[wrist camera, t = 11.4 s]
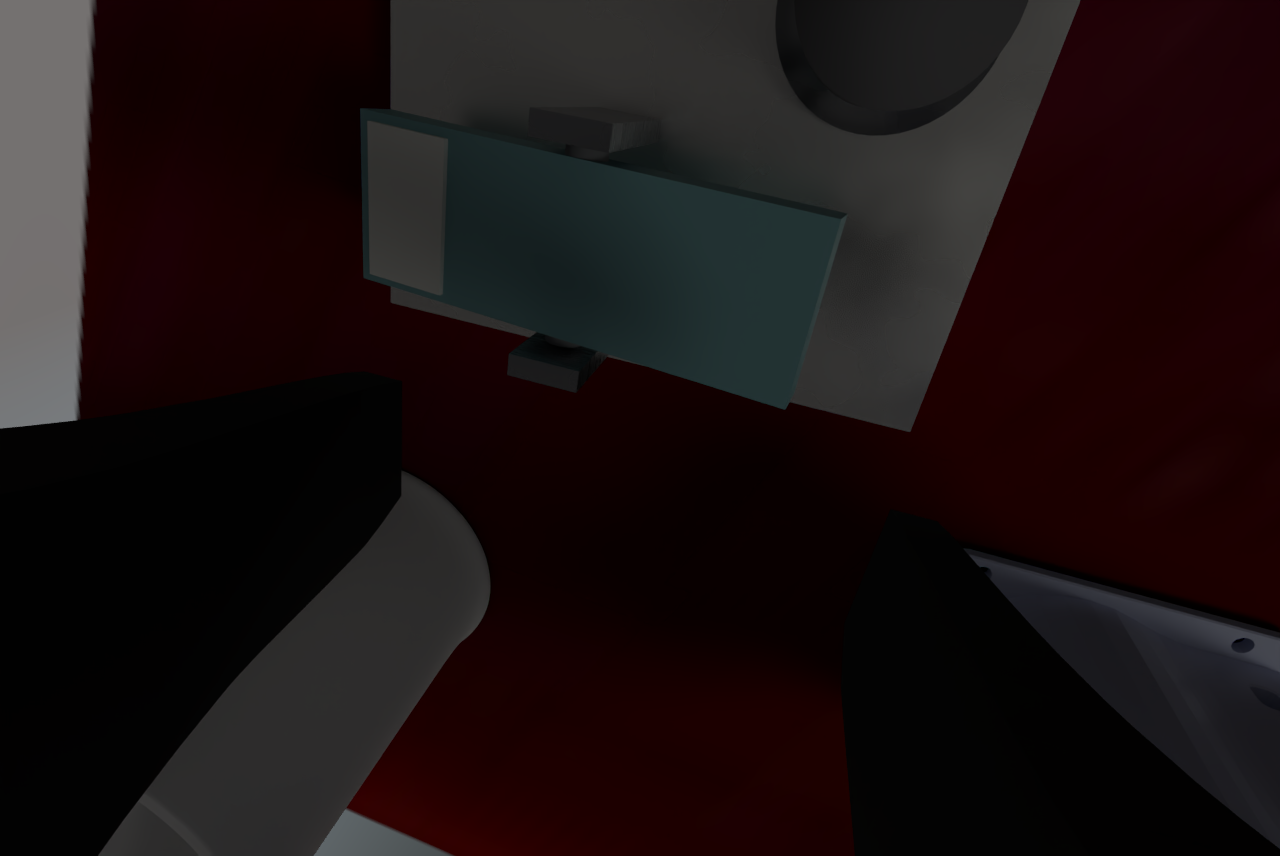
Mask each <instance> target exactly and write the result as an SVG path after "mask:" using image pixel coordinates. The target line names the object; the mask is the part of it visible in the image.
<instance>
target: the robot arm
mask: <svg viewBox="0 0 1280 856" xmlns="http://www.w3.org/2000/svg"><path fill="white" fill-rule="evenodd" d="M401 459H402V381H399V380H395V379H391V378H387V377H383V376H380V375H376V374H372V373H368V372H352V373H343V374H336V375H329V376H323V377H317V378H312V379H307V380H301V381H296V382H291V383H286V384H281V385H276V386H271V387H266V388H261V389H256V390H251V391H246V392H242V393H237V394H232V395H227V396H222V397H217V398H212V399H206V400H200V401H195V402H189V403H183V404H178V405H172V406H166V407H161V408H155V409H149V410H144V411H138V412H132V413H126V414H120V415H113V416H106V417H99V418H92V419H84V420H77V421H68V422H59V423H51V424H41V425H32V426H23V427H12V428H3V429H0V856H98V855H99V854H100V852H101V851H102V849H103V848H104V847H105V845H106V844H107V843H108V841H109V840H110V838H111V837H112V836H113V834H114V833H115V831H116V830H117V829H118V827H119V826H120V824H121V823H122V822H123V820H124V819H125V817H126V816H127V815H128V814H129V812H130V811H131V810H132V808H133V807H134V806H135V804H136V803H137V802H138V801H139V799H140V798H141V797H142V795H143V794H144V793H145V791H146V790H147V789H148V787H149V786H150V785H151V784H152V782H153V781H154V780H155V778H156V777H157V776H158V774H159V773H160V772H161V771H162V769H163V768H164V767H165V765H166V764H167V763H168V761H169V760H170V759H171V757H172V756H173V755H174V754H175V752H176V751H177V750H178V748H179V747H180V746H181V745H182V743H183V742H184V741H185V740H186V738H187V737H188V736H189V735H190V733H191V732H192V731H193V730H194V729H195V727H196V726H197V725H198V724H199V722H200V721H201V720H202V719H203V717H204V716H205V715H206V714H207V713H208V711H209V710H210V709H211V708H212V706H213V705H214V704H215V703H216V701H217V700H218V699H219V698H220V697H221V695H222V694H223V693H224V692H225V690H226V689H227V688H228V687H229V686H230V684H231V683H232V682H233V681H234V680H235V679H236V678H237V677H238V676H239V674H240V673H241V672H242V671H243V670H244V669H245V668H246V667H247V666H248V665H249V664H250V662H251V661H252V660H253V659H254V658H255V657H256V656H257V655H258V654H259V653H260V652H261V651H262V650H263V649H264V648H265V647H266V646H267V645H268V644H269V643H270V642H271V641H272V640H273V639H274V638H275V637H276V636H277V635H278V634H279V633H280V632H281V631H282V630H283V629H284V628H285V627H286V626H287V625H288V624H289V623H290V622H291V621H292V620H293V619H294V618H295V617H296V616H297V615H298V614H299V613H300V612H301V611H302V610H303V609H304V608H305V607H306V606H307V605H308V604H309V603H310V602H311V601H312V600H313V599H314V598H315V597H316V596H317V595H318V594H319V593H320V592H321V591H322V590H323V589H324V588H325V587H326V586H327V585H328V584H329V583H330V582H331V581H332V580H333V578H334V577H335V576H336V575H337V574H338V573H339V572H340V571H341V570H342V569H343V568H344V567H345V566H346V565H347V564H348V563H349V562H350V561H351V560H352V559H353V558H354V557H355V556H356V555H357V554H358V553H359V552H360V551H361V549H362V548H363V547H364V546H365V545H366V544H367V542H368V541H369V540H370V539H371V537H372V536H373V535H374V533H375V532H376V531H377V529H378V528H379V527H380V525H381V524H382V523H383V521H384V520H385V519H386V517H387V516H388V514H389V513H390V511H391V510H392V509H393V507H394V506H395V504H396V503H397V501H398V500H399V499H400V497H401ZM980 567H987V568H989V569H988V570H987V571H986V572H983V571H982V569H981V568H980ZM1240 638H1246V639H1244V640H1243V641H1242V642H1238V643H1233V642H1234V641H1235V640H1236V639H1240ZM841 692H842V707H843V719H844V732H845V745H846V756H847V768H848V779H849V791H850V802H851V814H852V826H853V837H854V849H855V856H1280V633H1279V632H1276V631H1272V630H1268V629H1265V628H1261V627H1257V626H1253V625H1250V624H1246V623H1242V622H1239V621H1235V620H1231V619H1227V618H1224V617H1220V616H1216V615H1213V614H1209V613H1205V612H1201V611H1198V610H1194V609H1190V608H1187V607H1183V606H1179V605H1175V604H1172V603H1168V602H1164V601H1161V600H1157V599H1153V598H1149V597H1146V596H1142V595H1138V594H1135V593H1131V592H1127V591H1123V590H1120V589H1116V588H1112V587H1109V586H1105V585H1101V584H1097V583H1094V582H1090V581H1086V580H1083V579H1079V578H1075V577H1071V576H1068V575H1064V574H1060V573H1057V572H1053V571H1049V570H1045V569H1042V568H1038V567H1034V566H1031V565H1027V564H1023V563H1019V562H1016V561H1012V560H1008V559H1005V558H1001V557H997V556H993V555H990V554H986V553H982V552H979V551H975V550H971V549H965V548H962V547H961V546H960V545H959V543H958V542H957V541H956V540H955V539H954V538H953V537H952V536H951V535H950V534H949V533H948V532H947V531H946V530H945V529H944V528H943V527H942V526H941V525H940V524H939V523H938V522H937V521H933V520H929V519H925V518H922V517H918V516H914V515H910V514H906V513H903V512H899V511H895V510H890V512H889V515H888V517H887V520H886V522H885V525H884V527H883V530H882V532H881V535H880V537H879V540H878V542H877V544H876V547H875V549H874V552H873V554H872V557H871V559H870V562H869V564H868V567H867V569H866V572H865V574H864V576H863V579H862V581H861V584H860V586H859V589H858V591H857V594H856V596H855V599H854V601H853V604H852V606H851V608H850V611H849V613H848V616H847V618H846V621H845V626H844V642H843V657H842V681H841Z"/></svg>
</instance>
